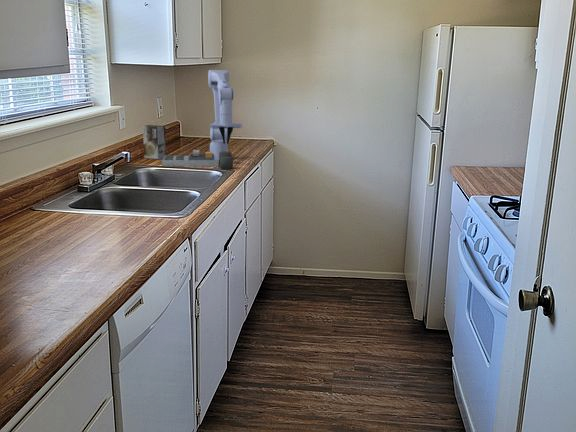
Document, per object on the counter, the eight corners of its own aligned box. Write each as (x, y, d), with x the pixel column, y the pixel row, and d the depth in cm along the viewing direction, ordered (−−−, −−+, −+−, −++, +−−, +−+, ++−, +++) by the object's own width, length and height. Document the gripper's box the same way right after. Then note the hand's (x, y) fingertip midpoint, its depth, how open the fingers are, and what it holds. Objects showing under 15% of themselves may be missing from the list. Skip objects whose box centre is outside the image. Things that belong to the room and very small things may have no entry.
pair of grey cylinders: (231, 161, 286) (231, 151, 285) (233, 169, 266) (233, 158, 265) (219, 161, 286) (219, 151, 284) (220, 169, 265) (220, 158, 264)
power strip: (218, 161, 285) (218, 149, 283) (218, 166, 272) (218, 153, 271) (164, 161, 281) (163, 149, 279) (162, 166, 269) (161, 153, 267)
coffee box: (166, 157, 293) (165, 125, 289) (158, 159, 287) (157, 126, 283) (151, 156, 296) (150, 124, 292) (143, 157, 291) (142, 125, 287)
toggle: (212, 158, 276) (212, 151, 275) (212, 159, 272) (212, 153, 272) (205, 158, 276) (205, 151, 275) (205, 159, 272) (205, 153, 271)
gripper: (210, 114, 265) (210, 144, 268) (242, 115, 267) (241, 144, 270) (210, 113, 272) (210, 142, 275) (241, 113, 274) (241, 142, 277)
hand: (225, 143), depth 273 cm, fingers closed
